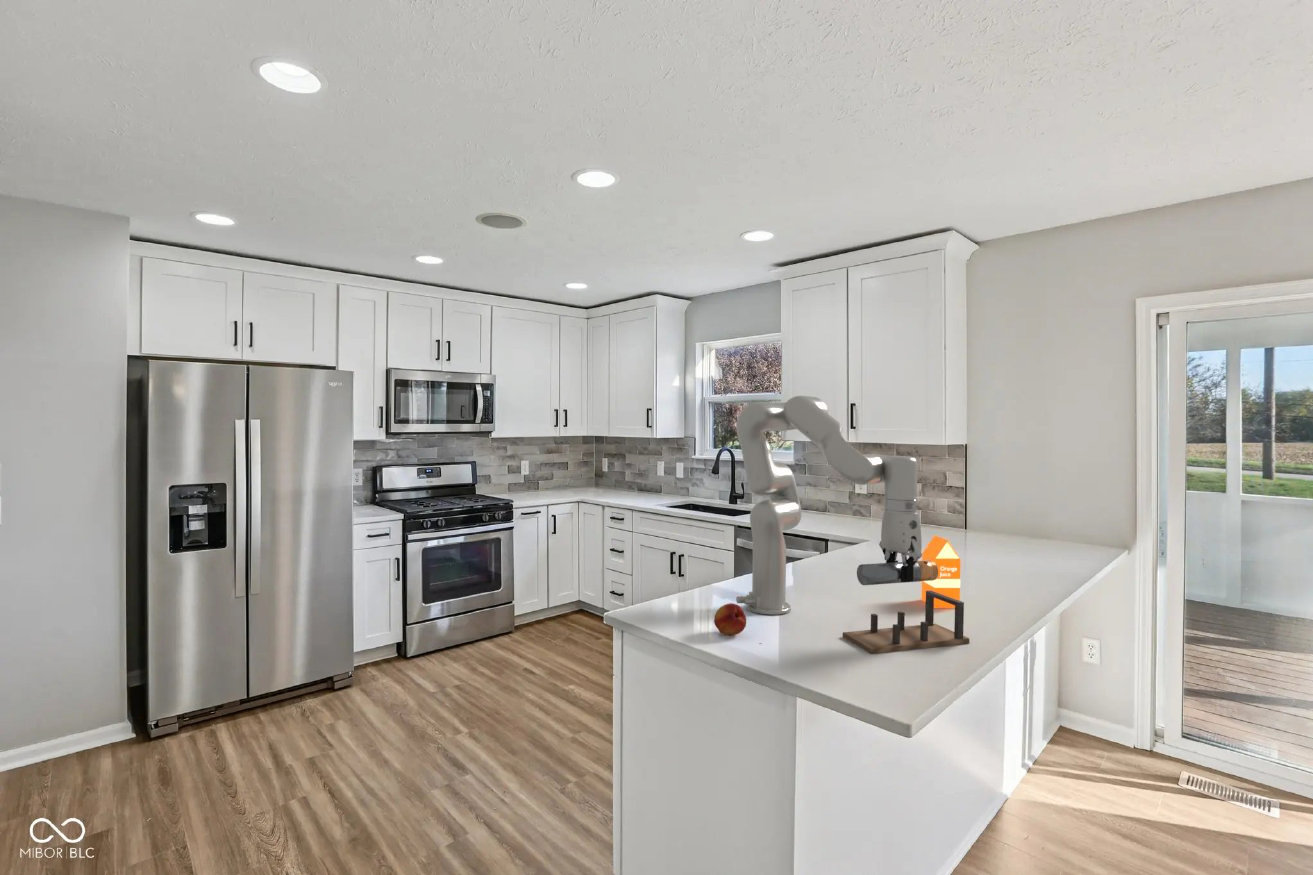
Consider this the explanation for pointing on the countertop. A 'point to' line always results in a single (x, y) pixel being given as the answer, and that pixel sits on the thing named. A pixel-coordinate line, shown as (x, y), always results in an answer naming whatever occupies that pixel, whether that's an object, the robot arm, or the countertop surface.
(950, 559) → the orange juice
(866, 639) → the board
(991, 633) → the countertop surface
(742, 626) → the fruit
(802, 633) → the countertop surface
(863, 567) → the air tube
